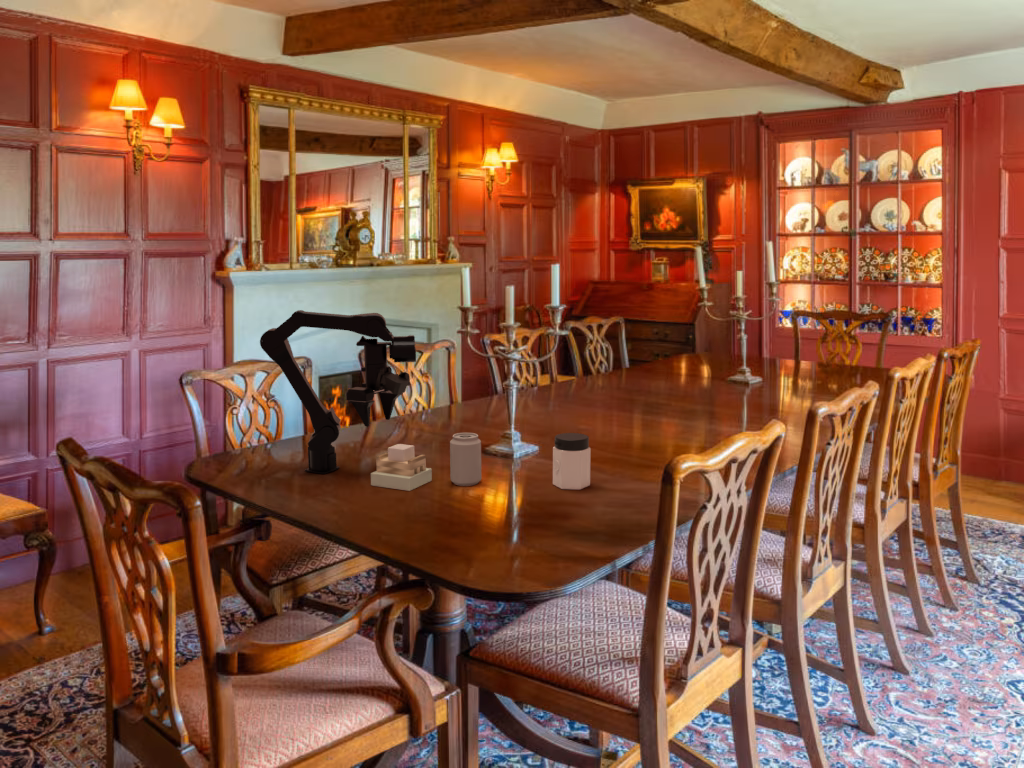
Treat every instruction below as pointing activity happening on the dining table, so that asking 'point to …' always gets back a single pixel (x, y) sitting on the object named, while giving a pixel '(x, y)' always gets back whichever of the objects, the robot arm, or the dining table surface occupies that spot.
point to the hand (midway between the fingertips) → (377, 423)
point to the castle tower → (401, 465)
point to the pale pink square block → (401, 452)
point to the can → (465, 459)
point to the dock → (401, 480)
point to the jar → (571, 461)
